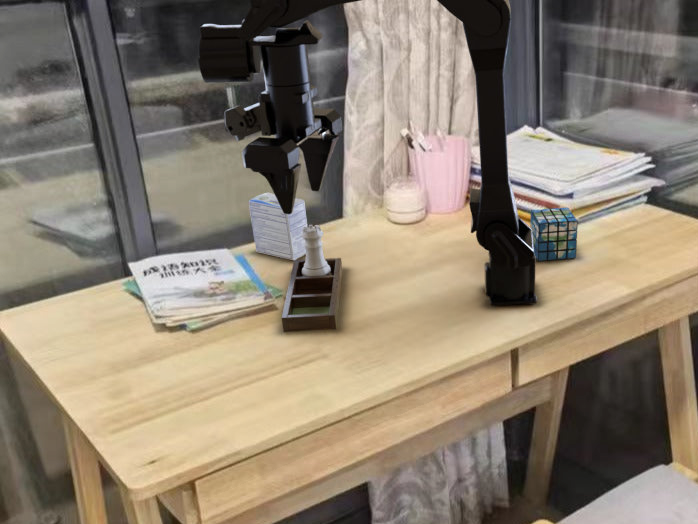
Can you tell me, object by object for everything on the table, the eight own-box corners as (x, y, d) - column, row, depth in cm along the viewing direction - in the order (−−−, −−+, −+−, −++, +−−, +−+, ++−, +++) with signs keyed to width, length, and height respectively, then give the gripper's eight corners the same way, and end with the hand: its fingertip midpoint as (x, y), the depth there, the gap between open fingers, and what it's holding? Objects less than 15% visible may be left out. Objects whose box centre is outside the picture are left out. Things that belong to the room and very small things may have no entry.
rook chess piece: (338, 278, 140) (333, 226, 136) (315, 288, 137) (309, 236, 133) (318, 270, 143) (313, 219, 138) (296, 280, 140) (289, 228, 136)
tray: (342, 270, 143) (341, 257, 142) (336, 329, 127) (334, 315, 126) (295, 272, 143) (294, 259, 142) (283, 332, 127) (281, 317, 126)
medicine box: (311, 252, 150) (305, 199, 145) (293, 262, 147) (286, 208, 142) (273, 243, 153) (266, 191, 149) (255, 252, 150) (247, 199, 145)
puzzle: (576, 258, 144) (578, 220, 141) (537, 261, 144) (538, 223, 141) (566, 243, 149) (568, 206, 146) (529, 246, 149) (530, 209, 145)
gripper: (262, 63, 129) (277, 176, 137) (194, 97, 114) (215, 221, 122) (338, 65, 126) (348, 181, 134) (278, 101, 111) (294, 228, 120)
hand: (302, 201), depth 128 cm, fingers open, 9 cm apart
